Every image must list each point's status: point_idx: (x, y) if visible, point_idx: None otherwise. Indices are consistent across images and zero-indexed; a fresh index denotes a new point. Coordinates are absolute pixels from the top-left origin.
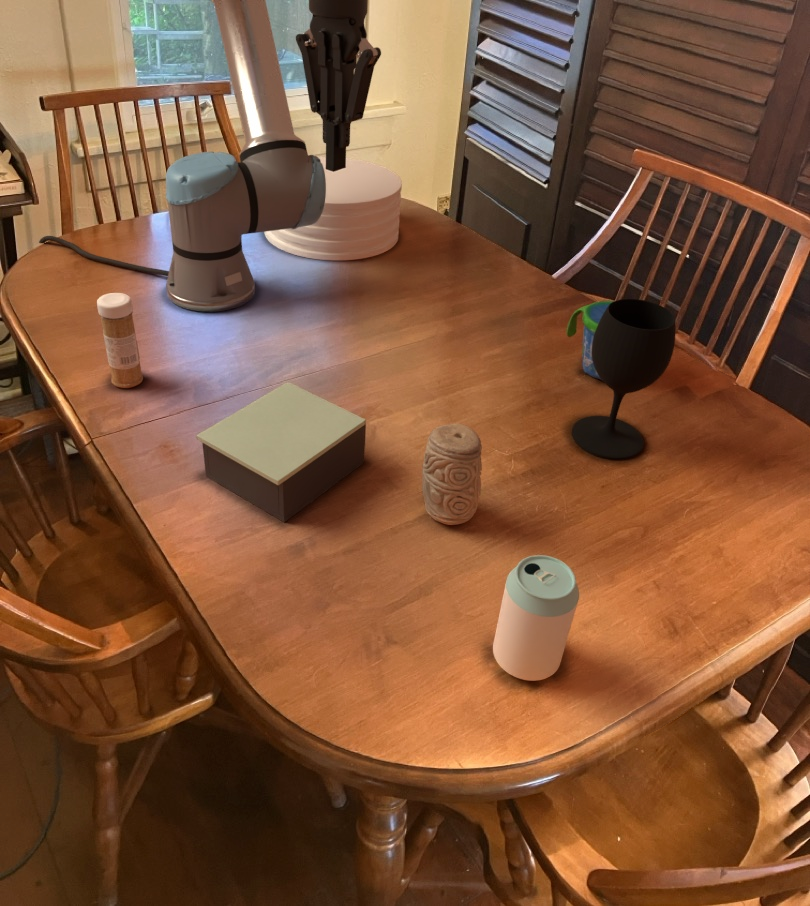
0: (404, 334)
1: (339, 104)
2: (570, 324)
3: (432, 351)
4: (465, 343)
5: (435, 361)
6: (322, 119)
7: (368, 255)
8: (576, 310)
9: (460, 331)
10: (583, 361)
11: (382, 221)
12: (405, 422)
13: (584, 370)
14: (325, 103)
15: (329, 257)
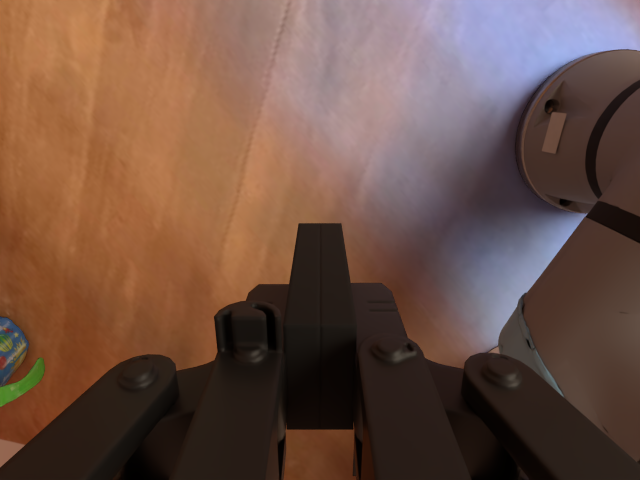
0: (253, 242)
1: (214, 440)
2: (30, 370)
3: (190, 229)
4: (173, 279)
5: (167, 209)
6: (395, 334)
7: None
8: (6, 387)
9: (201, 302)
10: (5, 327)
11: None
12: (73, 29)
13: (7, 319)
14: (388, 420)
15: (495, 351)
